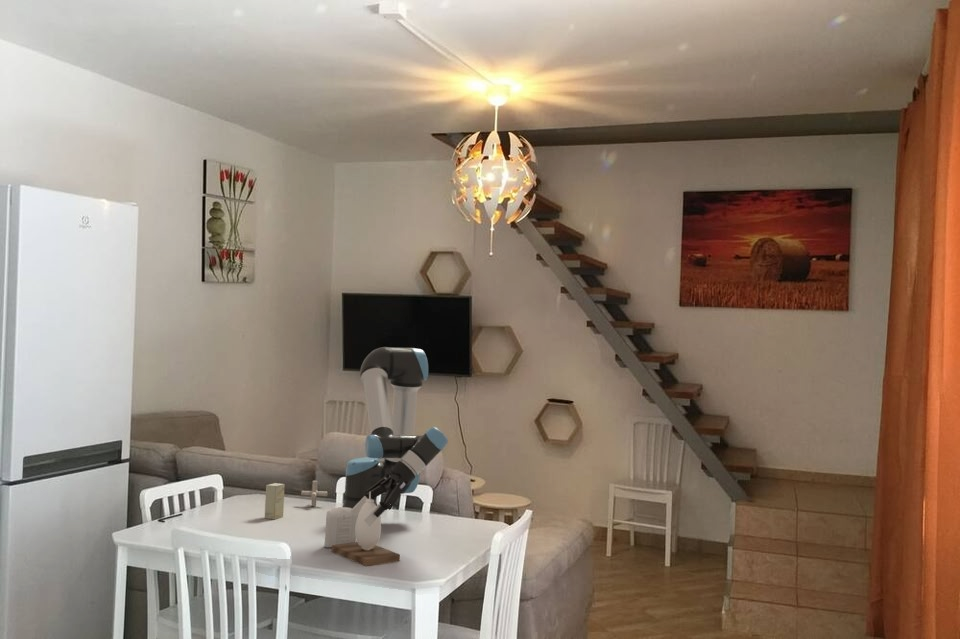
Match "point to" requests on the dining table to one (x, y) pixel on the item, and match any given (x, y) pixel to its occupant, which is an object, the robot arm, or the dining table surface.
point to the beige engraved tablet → (340, 526)
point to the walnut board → (365, 554)
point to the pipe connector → (314, 493)
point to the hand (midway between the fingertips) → (359, 518)
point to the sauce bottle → (367, 527)
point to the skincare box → (274, 501)
